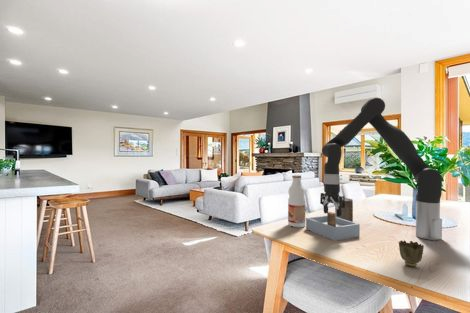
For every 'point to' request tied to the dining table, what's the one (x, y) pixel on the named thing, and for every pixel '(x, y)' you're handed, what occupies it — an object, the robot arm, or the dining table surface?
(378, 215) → the dining table surface
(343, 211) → the pillar candle
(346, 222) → the box
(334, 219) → the peg
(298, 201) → the fruit juice
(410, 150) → the robot arm
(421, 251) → the mottled brown rounded lump
